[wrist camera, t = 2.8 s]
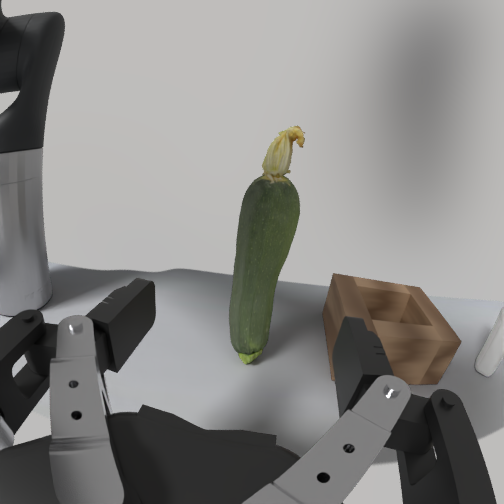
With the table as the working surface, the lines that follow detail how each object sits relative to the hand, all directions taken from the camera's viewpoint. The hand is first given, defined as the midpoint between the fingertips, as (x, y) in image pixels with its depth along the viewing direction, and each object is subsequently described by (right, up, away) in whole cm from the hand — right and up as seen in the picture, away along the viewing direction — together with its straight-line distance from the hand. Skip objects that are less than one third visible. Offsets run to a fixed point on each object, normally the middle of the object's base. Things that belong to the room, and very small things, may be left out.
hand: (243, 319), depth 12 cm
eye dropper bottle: (+29, -12, +13) cm, 34 cm away
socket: (+14, -8, +17) cm, 24 cm away
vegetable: (0, -7, +14) cm, 16 cm away
